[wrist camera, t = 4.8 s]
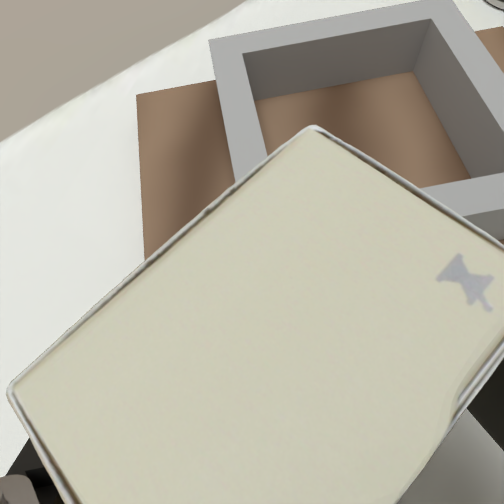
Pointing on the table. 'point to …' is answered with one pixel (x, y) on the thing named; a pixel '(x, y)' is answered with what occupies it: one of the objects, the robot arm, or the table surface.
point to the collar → (373, 66)
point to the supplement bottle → (497, 3)
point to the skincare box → (276, 345)
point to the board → (286, 138)
